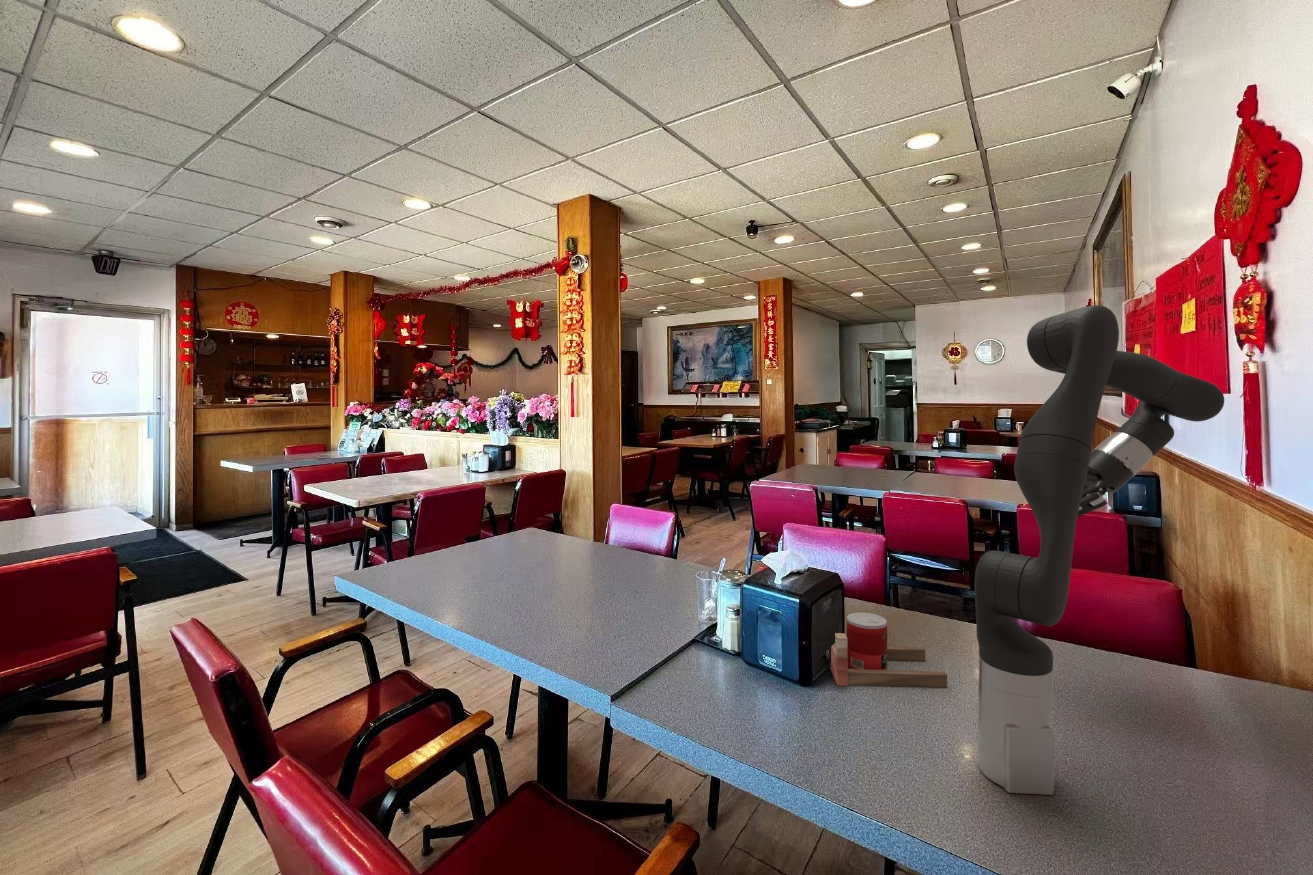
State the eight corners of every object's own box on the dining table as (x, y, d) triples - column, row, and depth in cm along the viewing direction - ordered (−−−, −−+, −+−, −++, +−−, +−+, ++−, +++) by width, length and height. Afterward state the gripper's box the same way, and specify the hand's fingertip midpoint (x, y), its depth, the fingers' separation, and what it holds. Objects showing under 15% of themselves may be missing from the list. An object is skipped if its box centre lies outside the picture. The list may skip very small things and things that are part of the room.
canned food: (891, 679, 113) (891, 626, 112) (850, 677, 114) (850, 624, 113) (882, 662, 120) (882, 612, 120) (843, 660, 122) (843, 611, 121)
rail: (948, 688, 109) (948, 641, 108) (837, 685, 111) (837, 638, 110) (921, 656, 123) (921, 614, 122) (824, 654, 125) (823, 612, 124)
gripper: (1075, 445, 111) (1009, 507, 112) (1124, 450, 97) (1048, 520, 99) (1104, 472, 110) (1037, 533, 112) (1156, 480, 97) (1080, 549, 99)
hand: (1042, 526), depth 106 cm, fingers closed
